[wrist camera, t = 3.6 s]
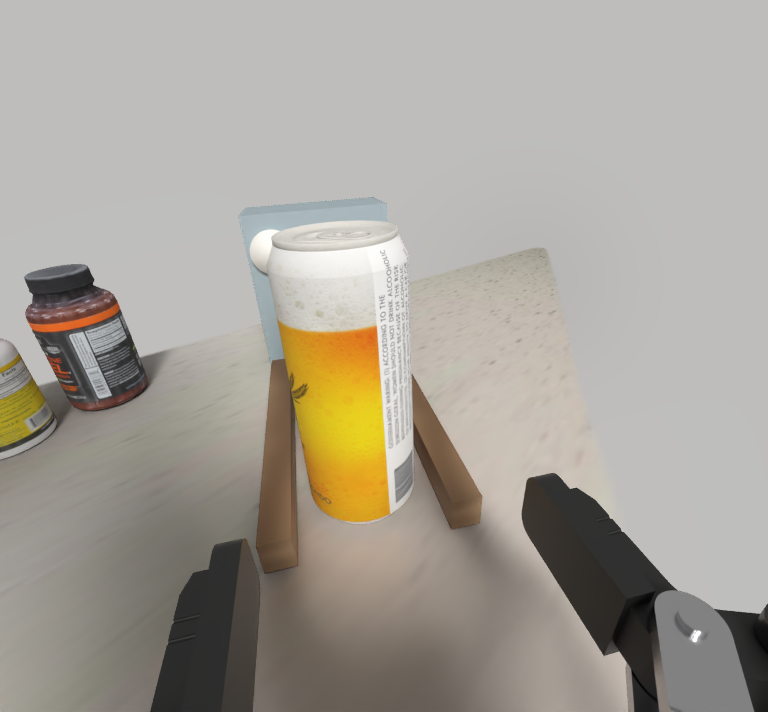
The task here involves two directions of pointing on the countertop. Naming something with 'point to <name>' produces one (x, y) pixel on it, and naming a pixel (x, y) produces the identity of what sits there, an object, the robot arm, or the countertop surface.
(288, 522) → the rail track
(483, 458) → the countertop surface
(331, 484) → the beer can
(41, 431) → the supplement bottle
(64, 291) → the supplement bottle
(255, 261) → the end cabinet
